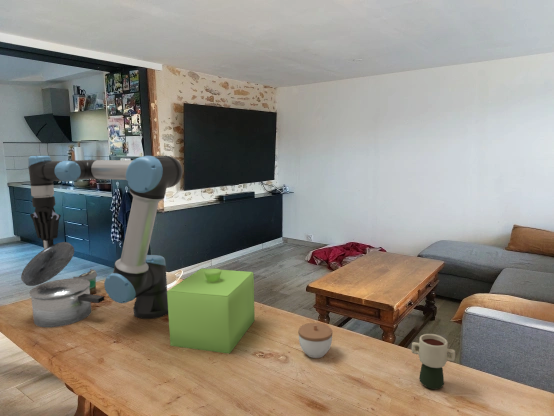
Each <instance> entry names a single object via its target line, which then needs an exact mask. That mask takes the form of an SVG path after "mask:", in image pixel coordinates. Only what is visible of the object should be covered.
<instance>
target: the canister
mask: <svg viewBox="0 0 554 416" xmlns="http://www.w3.org/2000/svg"><path fill="white" fill-rule="evenodd" d="M254 279H255V277H254V272H253V271H242V270H231V269H220V268H215V267H214V268H203V267H202V268H200V269H199V270H197V271H195V272H194V273H192V274H191V275H189V276H188V277H186V278H184V279H183V280H181V281H180V282H179V283H177V284H176V285H174V286H172V287H171V288H170V289H167V298H168V314H167V315H168V328H169V329H168V330H169V343H170V347H177V348H186V349H193V350H200V351H207V352H213V353H223V354H229V355H230V354H231V352H232V351H234V348H235V347H236V346H237V345H238V344H239V342H240V341H241V339H242V338H243V337H244V335H245V334H246V333H247V331H248V330H249V329H250V327H251V326H252V325H253V323H254V322H255V321H256V317H255V315H256V314H255V313H256V312H255V284H254V283H255V280H254Z"/></svg>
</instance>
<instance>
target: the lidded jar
mask: <svg viewBox="0 0 554 416" xmlns="http://www.w3.org/2000/svg"><path fill="white" fill-rule="evenodd" d="M332 341H333V329H332V328H331V327H330V326H329V325H327V324H325V323H320V322H309V323H304V324H302V325H301V326H300V327H299V328H298V342H299V343H298V344H299V346H300V348H301V350H302V351H303V353H305V355H306V356H308V357H310V358H312V359H320V358H323V357H324V356H325V355H326V354H327V353H328V352H329V350H330V349H331V346H332Z"/></svg>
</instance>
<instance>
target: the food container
mask: <svg viewBox="0 0 554 416" xmlns="http://www.w3.org/2000/svg"><path fill="white" fill-rule="evenodd" d="M97 277H98V273H97V271H96V270H95V269H92V268H90V270H89V271H87V272H85V273H82V274H81V275H79V276H73V277H72V278H80V279H86V280H88V281H89V282H90V286H89V290H90V294H91V295H96V293H97V287H96V286H97Z"/></svg>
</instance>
